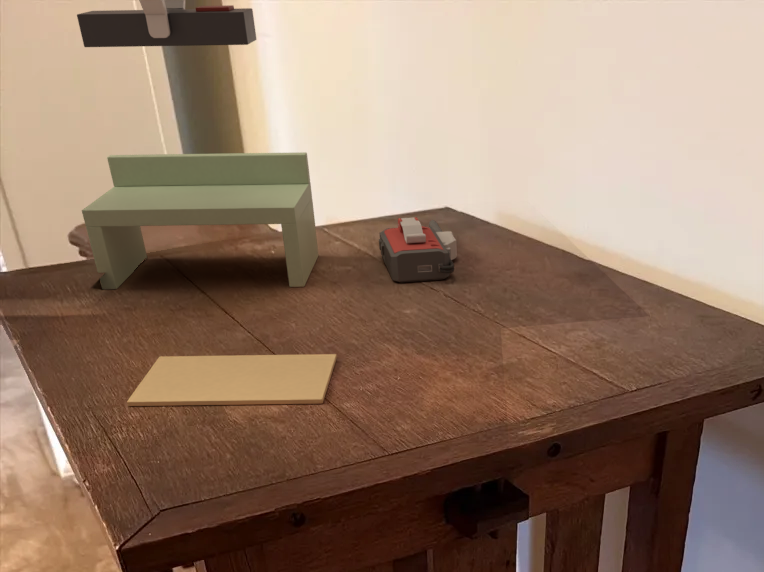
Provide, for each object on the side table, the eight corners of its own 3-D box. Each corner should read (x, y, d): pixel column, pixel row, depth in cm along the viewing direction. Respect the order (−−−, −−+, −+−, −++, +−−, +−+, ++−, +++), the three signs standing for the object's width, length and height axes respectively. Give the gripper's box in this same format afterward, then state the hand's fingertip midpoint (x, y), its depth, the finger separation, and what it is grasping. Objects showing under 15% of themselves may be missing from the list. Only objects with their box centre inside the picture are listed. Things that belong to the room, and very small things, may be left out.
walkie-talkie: (472, 281, 100) (441, 234, 115) (471, 238, 97) (439, 196, 113) (392, 287, 99) (372, 238, 114) (389, 244, 96) (368, 200, 111)
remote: (84, 47, 83) (75, 10, 82) (99, 42, 87) (91, 6, 85) (248, 44, 84) (242, 7, 82) (256, 40, 87) (251, 4, 85)
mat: (127, 406, 75) (126, 401, 74) (160, 360, 83) (159, 356, 82) (322, 403, 75) (322, 399, 74) (337, 358, 83) (336, 353, 82)
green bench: (102, 289, 99) (73, 178, 92) (134, 257, 109) (110, 154, 102) (304, 286, 99) (290, 175, 92) (318, 255, 109) (307, 152, 102)
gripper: (130, -155, 84) (164, 25, 93) (53, -174, 68) (102, 46, 77) (199, -156, 84) (226, 24, 93) (138, -175, 68) (177, 45, 77)
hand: (170, 34), depth 85 cm, fingers closed on remote, 4 cm apart
